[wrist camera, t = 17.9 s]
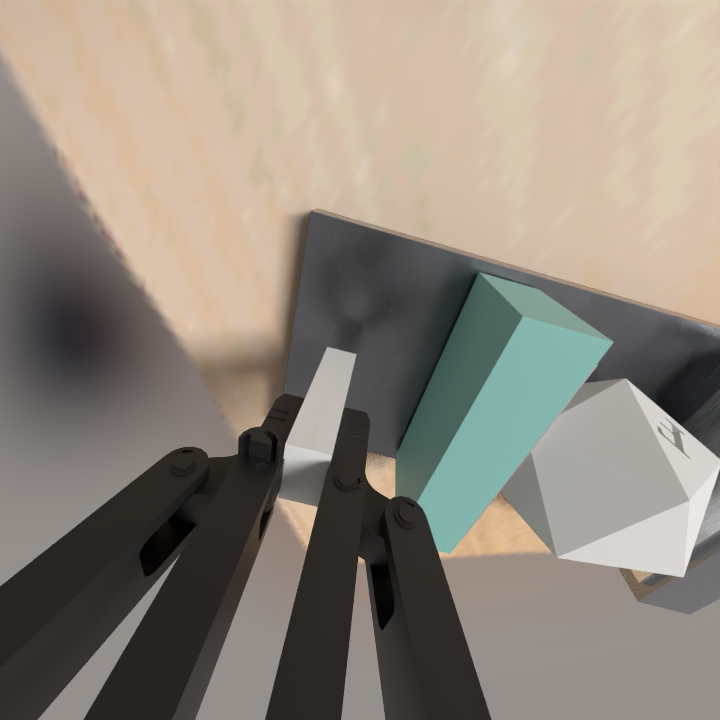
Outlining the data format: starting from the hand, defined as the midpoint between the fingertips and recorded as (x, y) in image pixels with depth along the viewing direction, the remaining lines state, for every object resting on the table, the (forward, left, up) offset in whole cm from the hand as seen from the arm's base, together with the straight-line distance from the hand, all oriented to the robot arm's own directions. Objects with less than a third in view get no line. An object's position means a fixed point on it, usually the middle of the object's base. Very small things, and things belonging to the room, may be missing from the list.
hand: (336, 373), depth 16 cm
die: (+1, +13, -2) cm, 13 cm away
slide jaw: (0, +7, -2) cm, 7 cm away
